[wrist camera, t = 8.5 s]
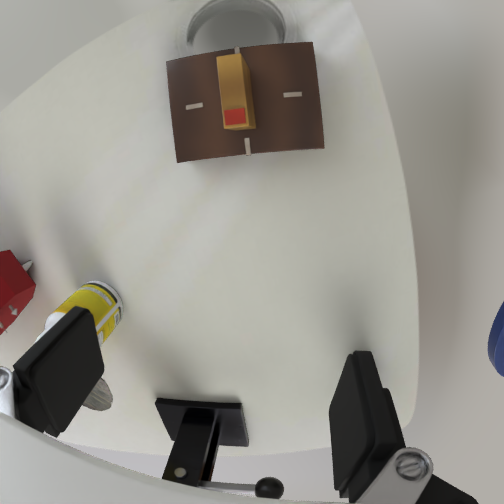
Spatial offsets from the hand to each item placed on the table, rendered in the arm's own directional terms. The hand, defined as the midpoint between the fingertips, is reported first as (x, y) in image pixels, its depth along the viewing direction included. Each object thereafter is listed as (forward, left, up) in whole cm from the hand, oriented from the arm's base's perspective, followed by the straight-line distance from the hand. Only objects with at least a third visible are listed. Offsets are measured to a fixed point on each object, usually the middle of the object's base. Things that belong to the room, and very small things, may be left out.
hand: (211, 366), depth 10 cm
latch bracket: (+10, +28, -20) cm, 36 cm away
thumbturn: (0, -11, -17) cm, 20 cm away
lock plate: (0, -11, -20) cm, 23 cm away
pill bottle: (+19, +8, -20) cm, 29 cm away
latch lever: (+5, +28, -11) cm, 31 cm away
